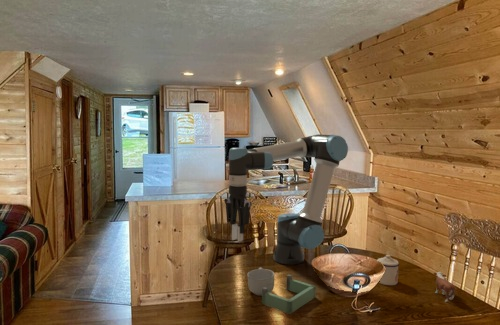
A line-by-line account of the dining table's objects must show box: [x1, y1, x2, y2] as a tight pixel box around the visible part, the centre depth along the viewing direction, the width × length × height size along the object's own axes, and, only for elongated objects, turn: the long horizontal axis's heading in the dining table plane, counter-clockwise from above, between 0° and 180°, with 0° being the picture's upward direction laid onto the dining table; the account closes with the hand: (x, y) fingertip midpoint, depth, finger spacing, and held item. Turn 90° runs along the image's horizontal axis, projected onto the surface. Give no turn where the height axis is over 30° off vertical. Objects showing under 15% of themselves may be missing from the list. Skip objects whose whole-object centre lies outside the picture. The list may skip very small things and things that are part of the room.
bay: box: [261, 274, 316, 315], centre depth 148 cm, size 18×12×6 cm
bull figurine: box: [433, 271, 456, 303], centre depth 153 cm, size 4×13×8 cm, turn 176°
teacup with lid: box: [376, 254, 400, 286], centre depth 168 cm, size 12×9×12 cm
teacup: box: [246, 267, 275, 297], centre depth 156 cm, size 14×11×8 cm
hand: (237, 239), depth 163 cm, fingers open, 3 cm apart
